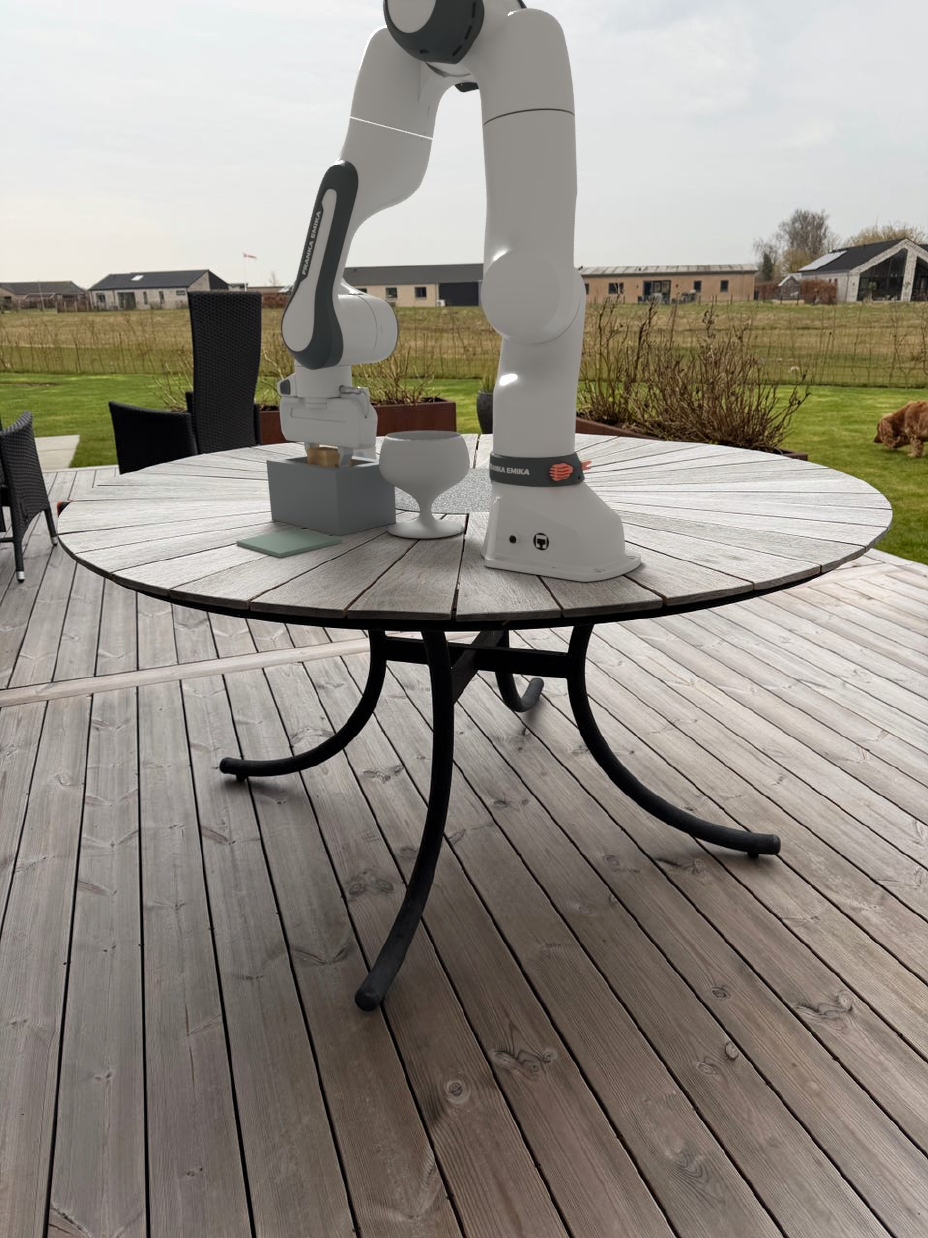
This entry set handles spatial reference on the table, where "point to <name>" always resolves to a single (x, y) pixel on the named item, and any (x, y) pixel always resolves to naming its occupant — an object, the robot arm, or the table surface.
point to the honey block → (324, 456)
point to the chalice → (424, 475)
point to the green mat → (288, 542)
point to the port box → (330, 495)
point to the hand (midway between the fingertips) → (330, 472)
